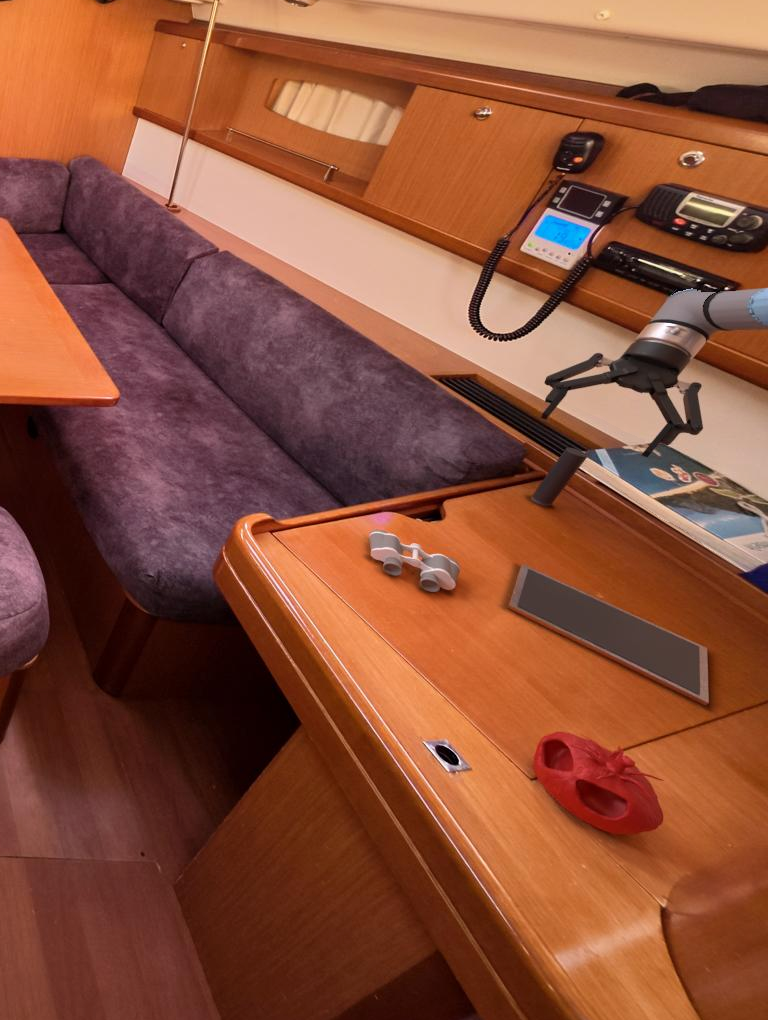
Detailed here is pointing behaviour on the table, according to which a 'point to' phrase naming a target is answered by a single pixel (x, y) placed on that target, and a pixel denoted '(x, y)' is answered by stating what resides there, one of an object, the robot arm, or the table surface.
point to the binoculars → (414, 561)
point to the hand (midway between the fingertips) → (592, 434)
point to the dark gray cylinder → (559, 476)
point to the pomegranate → (597, 784)
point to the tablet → (613, 633)
